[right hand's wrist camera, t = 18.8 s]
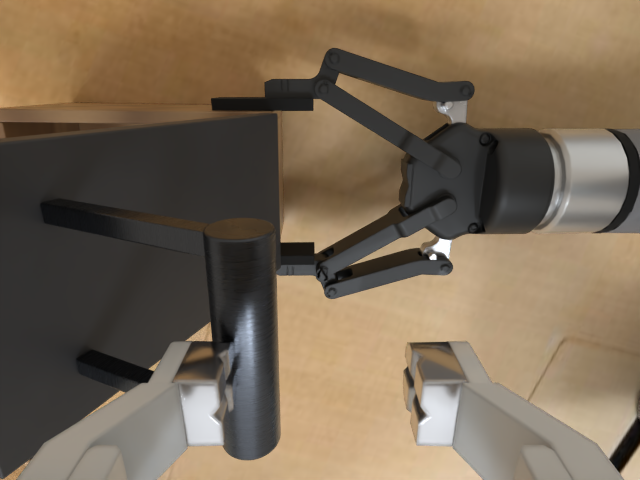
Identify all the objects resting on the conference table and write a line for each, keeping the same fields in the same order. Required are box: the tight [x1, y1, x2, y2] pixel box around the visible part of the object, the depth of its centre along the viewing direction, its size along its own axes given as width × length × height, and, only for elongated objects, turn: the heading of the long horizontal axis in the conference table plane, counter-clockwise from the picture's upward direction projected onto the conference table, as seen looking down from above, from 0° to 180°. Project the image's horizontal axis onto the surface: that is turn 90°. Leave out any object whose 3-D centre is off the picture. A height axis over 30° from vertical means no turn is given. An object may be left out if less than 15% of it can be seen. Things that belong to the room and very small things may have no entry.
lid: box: [0, 113, 281, 479], centre depth 18 cm, size 18×10×9 cm
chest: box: [0, 103, 284, 238], centre depth 31 cm, size 17×10×10 cm, turn 89°
